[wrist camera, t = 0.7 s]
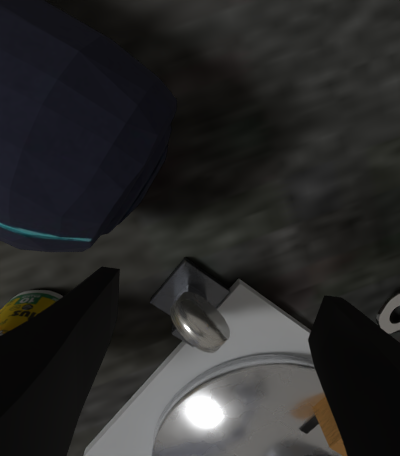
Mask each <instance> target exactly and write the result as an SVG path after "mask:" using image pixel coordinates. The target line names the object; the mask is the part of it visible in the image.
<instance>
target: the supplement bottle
mask: <svg viewBox="0 0 400 456" xmlns="http://www.w3.org/2000/svg"><path fill="white" fill-rule="evenodd" d="M62 297H63V296H62V295H60V294H58V293H55V292H52V291H49V290H29V291H25V292H22V293H20V294H18V295H16V296H15V297H14V298H12V299H11V300H10V301H9V302H8V303H7V304H6V305H5V306H4V307H3V308H2V309H1V310H0V336H1V335H3V334H5V333H6V332H8V331H10V330H12V329H14V328H15V327H17V326H19V325H21V324H23V323H24V322H26V321H28V320H29V319H31V318H33V317H34V316H36V315H37V314H39V313H40V312H42V311H43V310H45V309H46V308H48V307H49V306H51V305H52V304H54V303H55V302H56V301H58V300H59V299H61V298H62Z"/></svg>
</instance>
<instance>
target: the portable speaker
mask: <svg viewBox="0 0 400 456" xmlns="http://www.w3.org/2000/svg"><path fill="white" fill-rule="evenodd" d="M176 109H177V100H176V98H175V97H174V96H173V95H172V93H171V92H170V91H169V89H168V88H167V87H166V86H165V84H164V83H163V82H162V80H161V79H160V78H158V77H157V76H156V75H155V74H154V73H152V72H151V71H150V70H149V69H147V68H146V67H145V66H144V65H142V64H141V63H140V62H139V61H138V60H136V59H135V58H134V57H133V56H131V55H130V54H129V53H128V52H126V51H125V50H124V49H123V48H121V47H120V46H119V45H118V44H117V43H115V42H114V41H113V40H112V39H110V38H108V37H107V36H105V35H103V34H101V33H100V32H98V31H96V30H94V29H93V28H91V27H89V26H88V25H86V24H84V23H82V22H81V21H79V20H77V19H76V18H74V17H72V16H70V15H69V14H67V13H65V12H63V11H62V10H60V9H58V8H57V7H55V6H53V5H51V4H50V3H48V2H46V1H45V0H0V241H3V242H5V243H7V244H9V245H11V246H14V247H16V248H18V249H23V250H34V251H45V252H82V251H84V250H86V249H88V248H90V247H91V246H92V245H93V244H94V243H95V241H96V240H97V239H98V238H99V237H100V235H103V234H107V233H109V232H110V231H111V230H113V229H114V228H115V227H116V226H117V225H118V224H120V223H121V222H122V221H123V220H124V219H125V218H126V217H127V216H128V215H129V214H130V213H131V212H132V211H133V210H134V209H135V208H136V207H137V206H138V205H139V204H140V202H141V201H142V199H143V198H144V196H145V194H146V192H147V191H148V189H149V187H150V185H151V184H152V182H153V180H154V179H155V177H156V175H157V173H158V172H159V170H160V168H161V166H162V164H163V163H164V161H165V159H166V155H167V149H168V145H167V144H168V141H169V138H170V134H171V130H172V128H171V122H172V120H173V118H174V115H175V113H176Z"/></svg>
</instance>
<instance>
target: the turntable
mask: <svg viewBox="0 0 400 456" xmlns="http://www.w3.org/2000/svg"><path fill="white" fill-rule="evenodd" d="M306 455H325V456H347V453H346V450H345V446H344V444H343V441H342V438H341V435H340V432H339V430H338V427H337V424H336V422H335V419H334V417H333V414H332V412H331V409H330V407H329V404H328V401H327V399H326V396H325V394H324V391H323V389H322V386H321V383H320V381H319V378H318V376H317V373H316V370H315V367H314V364H313V360H312V359H308V358H304V357H299V356H292V355H278V354H270V355H256V356H251V357H245V358H240V359H237V360H233V361H230V362H226V363H224V364H221V365H219V366H216V367H214V368H212V369H210V370H208V371H206V372H204V373H202V374H201V375H199V376H197V377H196V378H194V379H193V380H192V381H190V382H189V383H187V384H186V385H185V386H184V387H183V388H182V389H181V390H179V391H178V392H177V393H176V394H175V395H174V397H173V398H172V399H171V400H170V401H169V403H168V404H167V405H166V407H165V409H164V410H163V412H162V414H161V415H160V418H159V420H158V423H157V425H156V429H155V433H154V439H153V448H152V456H306Z"/></svg>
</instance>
